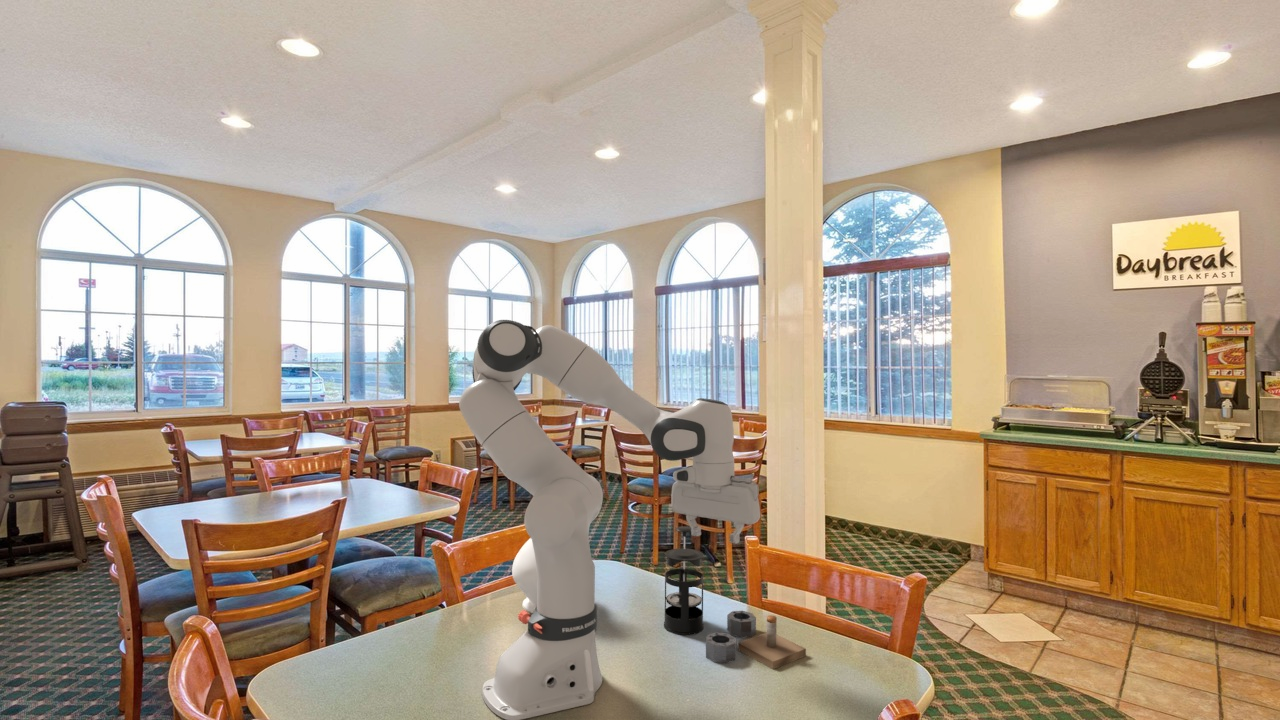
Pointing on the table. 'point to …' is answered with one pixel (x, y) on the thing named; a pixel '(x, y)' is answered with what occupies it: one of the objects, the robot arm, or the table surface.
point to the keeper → (771, 647)
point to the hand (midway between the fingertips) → (714, 539)
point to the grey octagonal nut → (720, 647)
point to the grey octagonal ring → (741, 624)
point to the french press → (683, 592)
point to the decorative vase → (526, 575)
